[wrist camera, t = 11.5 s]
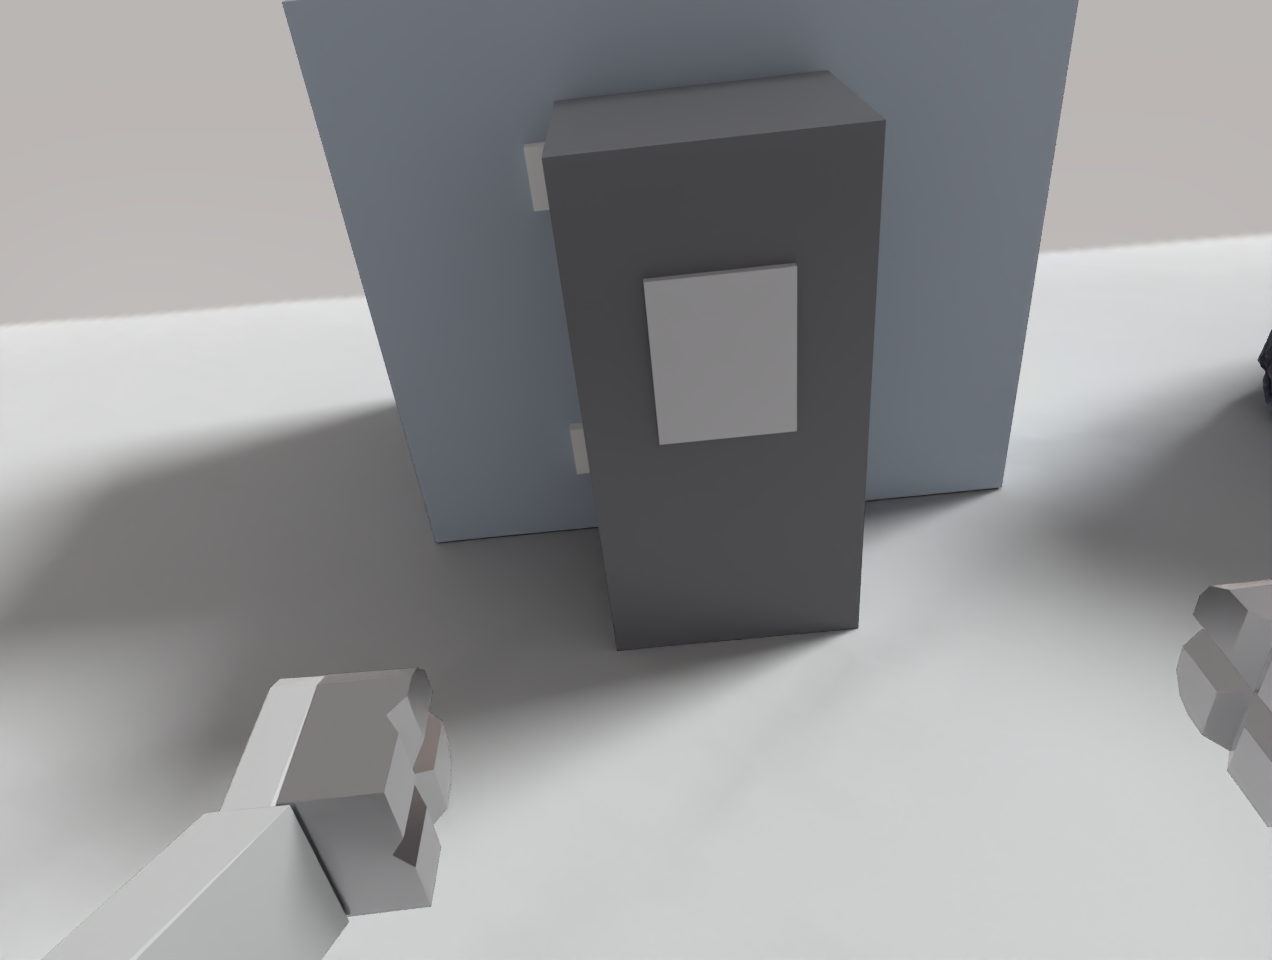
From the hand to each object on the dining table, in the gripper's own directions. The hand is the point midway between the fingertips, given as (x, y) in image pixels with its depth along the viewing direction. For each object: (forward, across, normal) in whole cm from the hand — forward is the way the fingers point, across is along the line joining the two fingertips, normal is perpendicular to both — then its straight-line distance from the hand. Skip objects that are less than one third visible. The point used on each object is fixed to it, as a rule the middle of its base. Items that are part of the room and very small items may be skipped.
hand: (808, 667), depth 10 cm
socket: (+15, 0, +6) cm, 17 cm away
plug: (+11, 0, +6) cm, 12 cm away
